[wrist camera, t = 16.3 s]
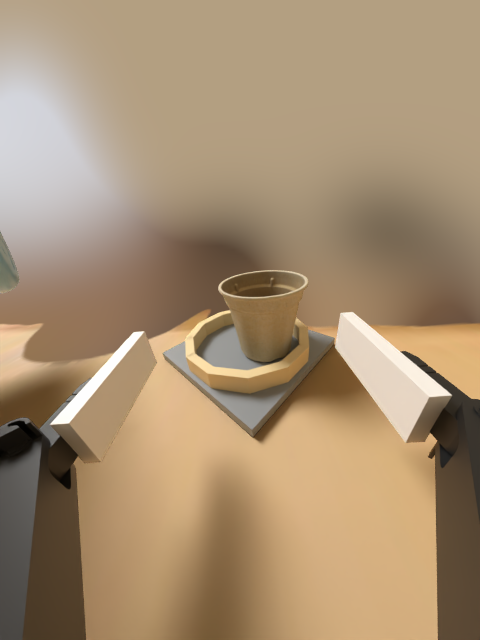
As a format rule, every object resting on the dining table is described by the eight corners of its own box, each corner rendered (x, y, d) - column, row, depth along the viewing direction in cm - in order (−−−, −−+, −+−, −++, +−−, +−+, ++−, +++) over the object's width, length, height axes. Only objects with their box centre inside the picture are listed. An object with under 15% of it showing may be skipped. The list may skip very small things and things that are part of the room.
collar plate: (164, 358, 26) (158, 340, 25) (245, 314, 36) (243, 299, 34) (252, 437, 16) (250, 413, 14) (333, 344, 25) (336, 324, 24)
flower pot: (231, 330, 29) (223, 273, 25) (294, 325, 28) (296, 266, 24) (225, 375, 21) (211, 302, 17) (314, 370, 20) (322, 292, 16)
